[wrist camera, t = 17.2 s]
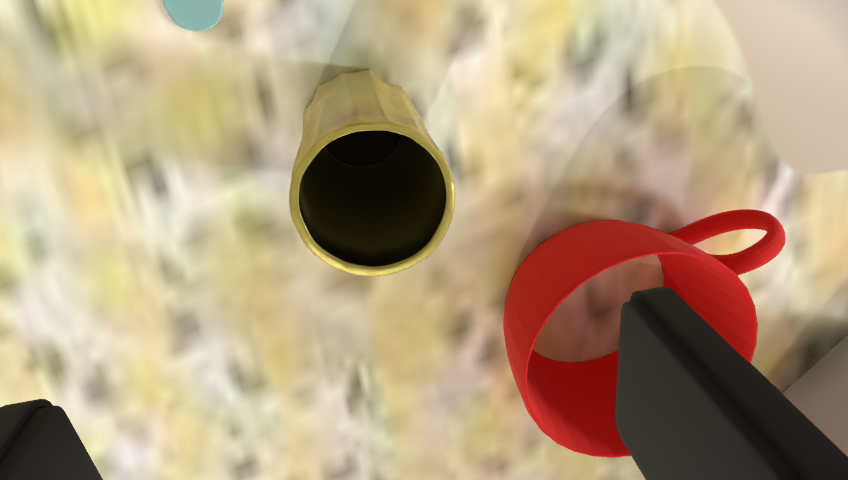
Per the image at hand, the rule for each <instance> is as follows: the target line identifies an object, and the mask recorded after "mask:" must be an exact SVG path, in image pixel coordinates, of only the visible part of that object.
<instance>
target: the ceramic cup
mask: <svg viewBox="0 0 848 480" xmlns="http://www.w3.org/2000/svg"><path fill="white" fill-rule="evenodd" d="M740 229H761V230H765V231H767V233H766V235H765V236H764V237H763V238H762V239H761V240H760V241H758V242H757V243H755V244H754V245H752V246H751V247H749V248H747V249H745V250H743V251H740V252H737V253H734V254H729V255H711V254H707V253H705V252H704V251H702V250H700V249H698V248H696V247H695V246H693V245H694V244H696V243H698V242H700V241H703V240H705V239H708V238H710V237H713V236H716V235H718V234H722V233H725V232H729V231H733V230H740ZM784 244H785V232H784V229H783V227H782V225H781V224H780V222H779V221H778V220H777V219H776V218H775V217H774V216H772V215H771V214H769V213H766V212H763V211H758V210H749V209H748V210H733V211H727V212H723V213H719V214H715V215H712V216H709V217H706V218H704V219H701V220H699V221H696V222H694V223H692V224H689V225H687V226H685V227H683V228H681V229H679V230H677V231H675V232H673V233H671V234H667V233H664V232H662V231H659V230H657V229H654V228H651V227H649V226H645V225H642V224H636V223H630V222H624V221H618V220H602V221H591V222H587V223H582V224H578V225H574V226H572V227H570V228H567V229H565V230H563V231H560V232H558V233H556V234H555V235H553V236H552V237H550V238H549V239H547V240H545V241H544V242H542V243H541V244H540V245H539V246H538V247H537V248H536V249H535V250H534V251H532V252H531V253H530V254H529V255H528V257H527V258H526V259H525V260H524V262H523V263H522V264H521V266H520V267H519V268H518V270H517V272H516V274H515V276H514V278H513V280H512V281H511V284H510V287H509V290H508V294H507V297H506V301H505V310H504V335H505V342H506V348H507V354H508V358H509V362H510V366H511V369H512V372H513V375H514V378H515V381H516V384H517V386H518V389H519V391H520V394H521V396H522V398H523V401H524V403H525V406H526V408H527V410H528V412H529V414H530V416H531V417H532V418H533V420H534V421H535V422H536V424H537V425H538V426H539V428H540V429H541V431H543V432H544V433H545V434H546V435H547V436H549V437H550V438H551V439H552V440H554V441H555V442H556V443H558V444H560V445H562V446H564V447H566V448H568V449H570V450H572V451H575V452H579V453H583V454H587V455H591V456H598V457H613V458H614V457H623V456H631V454H630V452H629V451H628V449H627V447H626V446H625V444H624V442H623V441H622V439H621V437H620V435H619V433H618V430H617V426H616V422H615V408H616V391H617V374H618V357H619V349H618V350H617V351H615V352H613V353H611V354H608V355H606V356H603V357H601V358H598V359H593V360H589V361H584V362H563V361H556V360H553V359H549V358H546V357H544V356H542V355H540V354H538V353H536V352H535V351H534V350H532V349H533V346H534V343H535V340H536V338H537V337H538V335H539V333H540V331H541V330H542V328H543V326H544V324H545V322H546V321H547V319H548V318H549V317H550V316H551V314H552V313H553V312H554V311H555V309H556V308H557V307H558V306H559V305H560V303H561V302H562V301H563V300H564V299H565V298H566V297H568V296H569V295H570V294H571V293H572V292H573V291H574V290H576V289H577V288H578V287H579V286H580V285H581V284H583V283H584V282H586V281H588V280H589V279H591V278H592V277H594V276H596V275H597V274H599V273H600V272H602V271H604V270H606V269H608V268H611V267H613V266H616V265H618V264H620V263H623V262H625V261H628V260H632V259H636V258H640V257H644V256H649V255H657V256H658V258H659V260H660V262H661V264H662V269H663V275H664V286H666V287H670V288H671V289H672V290H674V291H675V292H676V293H677V294H678V295H679V296H680V297H681V298H682V299H683V300H684V301H685V302H686V303H687V304H688V305H689V306H690V307H691V308H692V309H693V310H694V311H695V312H696V313H698V314H699V315H700V316H701V317H702V318H703V319H704V320H705V321H706V322H707V323H708V324H709V325H710V326H711V327H712V328H713V329H714V330H715V331H716V332H717V333H718V334H719V335H720V336H721V337H722V338H723V339H725V340H726V341H727V342H728V343H729V344H730V345H731V346H732V347H733V348H734V349H735V350H736V351H737V352H738V353H739V354H740V355H741V356H742V357H743V358H744V359H746V360H747V361H748V362H750V363H751V361H752V357H753V354H754V350H755V347H756V340H757V326H758V324H757V317H756V311H755V305H754V303H753V301H752V298H751V296H750V294H749V291H748V289H747V287H746V286H745V285H744V283H743V282H742V281H741V280H740V279H739V277H738V276H737V275H740V274H743V273H746V272H749V271H751V270H754V269H756V268H759V267H761V266H762V265H764V264H766V263H768V262H769V261H771V260H772V259H773V258H775V257H776V256H777V255H778V254H779V252H780V251H781V250H782V248H783V246H784ZM664 286H663V287H664Z"/></svg>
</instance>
